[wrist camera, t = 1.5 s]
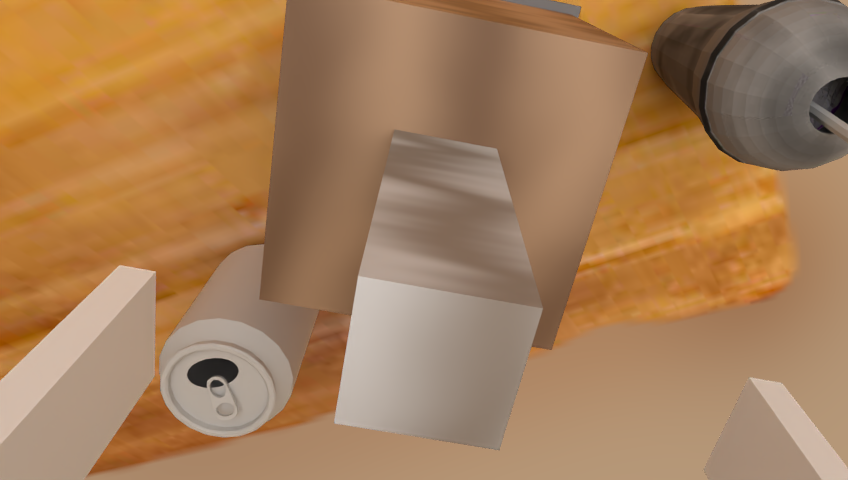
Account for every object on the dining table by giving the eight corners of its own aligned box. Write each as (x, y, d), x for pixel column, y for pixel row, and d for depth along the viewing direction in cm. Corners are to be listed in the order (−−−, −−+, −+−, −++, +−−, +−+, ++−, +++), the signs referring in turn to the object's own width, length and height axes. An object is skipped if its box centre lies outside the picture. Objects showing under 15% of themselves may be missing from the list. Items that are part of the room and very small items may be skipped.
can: (301, 226, 43) (254, 321, 32) (338, 318, 46) (306, 434, 35) (199, 253, 44) (120, 354, 33) (242, 342, 47) (182, 461, 36)
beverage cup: (768, -16, 36) (1102, 21, 18) (735, 112, 39) (993, 254, 21) (640, -23, 36) (844, 6, 18) (617, 105, 39) (771, 241, 21)
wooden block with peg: (318, 183, 41) (141, 529, 17) (345, -32, 36) (143, 10, 11) (514, 219, 42) (621, 601, 17) (570, 14, 37) (837, 147, 12)
